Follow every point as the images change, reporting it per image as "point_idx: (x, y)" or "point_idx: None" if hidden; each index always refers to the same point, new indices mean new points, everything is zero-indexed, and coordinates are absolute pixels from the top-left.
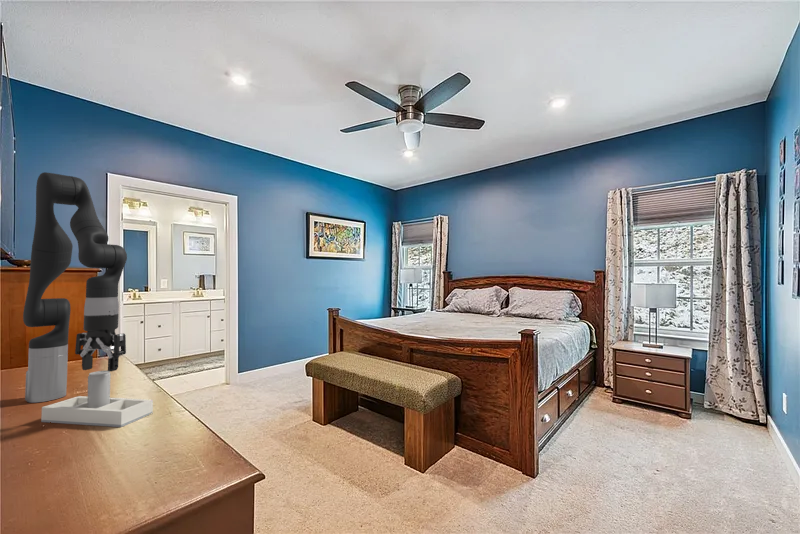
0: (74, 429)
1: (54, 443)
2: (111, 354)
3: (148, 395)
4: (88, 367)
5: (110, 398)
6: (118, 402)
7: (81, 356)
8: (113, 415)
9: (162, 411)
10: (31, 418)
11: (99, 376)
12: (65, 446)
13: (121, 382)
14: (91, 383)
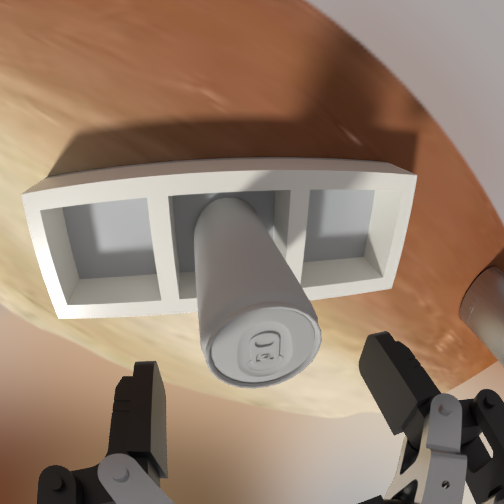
0: (195, 118)
1: (135, 20)
2: (104, 485)
3: None
4: (369, 359)
5: None
6: (158, 276)
7: (444, 396)
8: (59, 183)
9: None
10: (433, 185)
11: (214, 317)
12: (74, 21)
13: None
14: (247, 268)
